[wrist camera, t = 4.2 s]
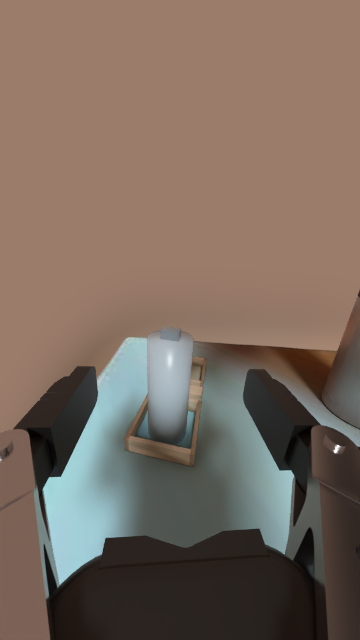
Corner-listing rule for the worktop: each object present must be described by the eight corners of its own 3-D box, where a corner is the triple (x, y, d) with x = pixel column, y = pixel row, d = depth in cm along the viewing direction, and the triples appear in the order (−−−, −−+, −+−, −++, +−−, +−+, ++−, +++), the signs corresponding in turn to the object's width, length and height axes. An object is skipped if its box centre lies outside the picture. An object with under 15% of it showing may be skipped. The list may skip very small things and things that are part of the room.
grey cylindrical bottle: (188, 416, 26) (196, 324, 22) (182, 450, 22) (190, 342, 17) (155, 409, 27) (155, 319, 23) (142, 441, 23) (139, 335, 18)
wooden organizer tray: (205, 366, 39) (206, 358, 38) (193, 466, 20) (194, 455, 20) (168, 360, 40) (168, 353, 39) (124, 450, 21) (124, 438, 21)
